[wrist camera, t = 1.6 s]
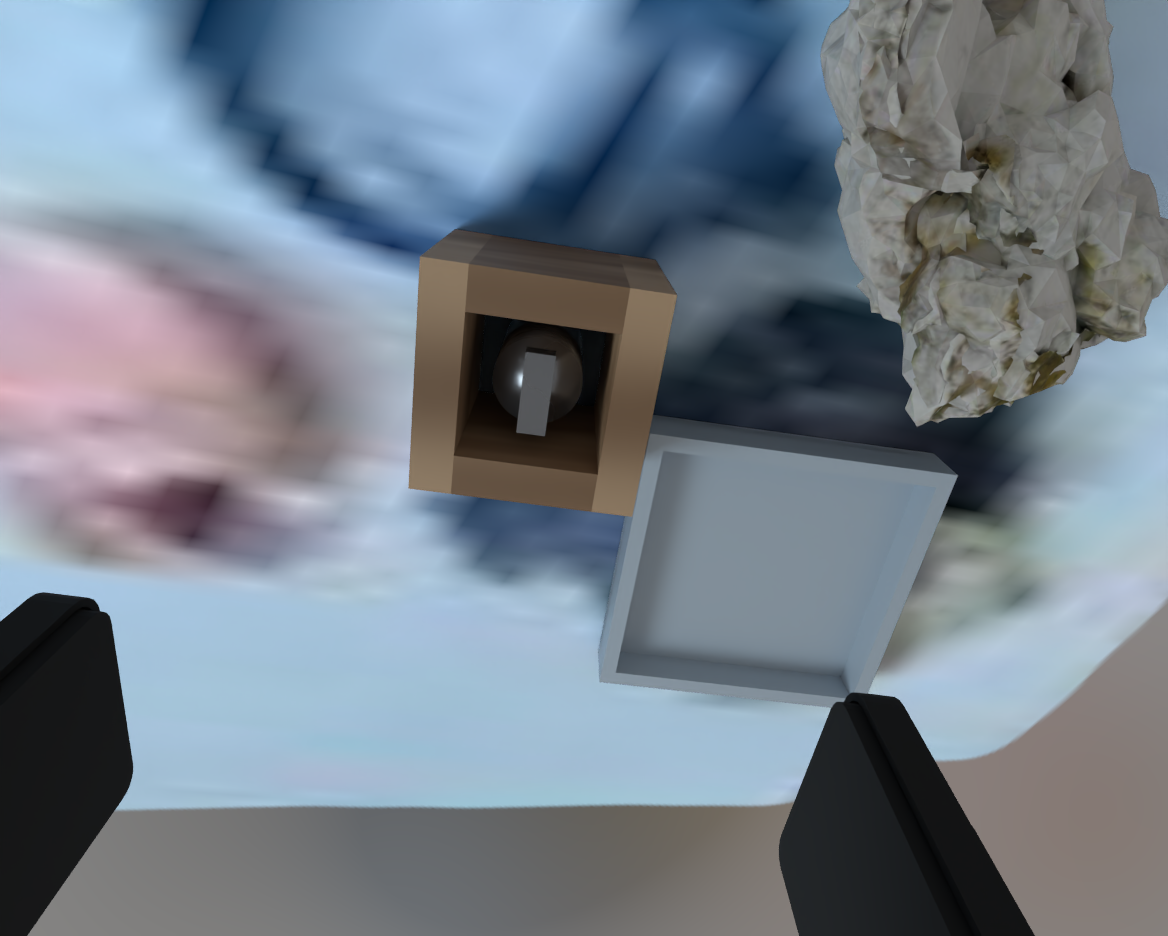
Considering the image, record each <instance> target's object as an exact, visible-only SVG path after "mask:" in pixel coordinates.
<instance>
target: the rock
mask: <svg viewBox="0 0 1168 936" xmlns="http://www.w3.org/2000/svg"><path fill="white" fill-rule="evenodd" d="M1112 29H1113V26H1112V25H1111V24H1110V23H1109V22H1108V21H1107V19H1106V10H1105V4H1104V0H850V3H849V7H848V8H847V9H846V10H845V11H844V12H843V13H842V14H841V15H840V16H839V17H838V18H836V19H835V20H834V21H833V22H832V23H831V24H830V26H829V29H828V31H827V34H826V36H825V39H824V42H823V44H822V48H821V65H822V71H823V76H824V81H825V87H826V90H827V93H828V95H829V98H830V100H831V103H832V105H833V108H834V110H835V113H836V115H837V118H838V120H839V123H840V125H841V126H842V128H843V130H842V132H843V136H844V140H842V143H841V146H840V147H839V148H838V149H837V154H836V159H835V164H834V166H835V169H836V172H837V175H838V178H839V181H840V184H841V188H842V193H841V198H840V202H839V206H838V210H837V212H838V215H839V218H840V221H841V225H842V228H843V231H844V234H845V238H846V241H847V244H848V247H849V251H850V254H851V257H852V259H853V261H854V262H855V264H856V265H857V267H858V268H859V270H860V271H861V273H862V275H863V276H864V278H863V279H862V281H861V282H860V283H859V284H858V285H857V287H858V288H859V289H860V290H861V291H862V292H863V293H864V294H865V295H866V296H867V297H868V298H869V299H870V306H871V313H880V314H881V315H882V317H883V318H884V319H887V320H891V321H894V322H897V323H898V324H900V326H901V328H902V336H903V344H904V351H903V367H902V375H903V376H904V378H905V379H906V381H907V382H908V383H909V385H910V386H911V388H912V392H911V395H910V397H909V400H908V402H907V405H906V407H905V409H906V411H907V412H908V414H909V415H910V417H911V418H912V420H913V421H914V423H915V424H916V426H920V425H922V424H924V423H926V422H928V421H930V420H932V421H935V422H937V423H938V422H941V421H943V420H945V419H947V418H954V417H980V416H981V415H982V414H984V413H988V412H992V410H993V408H994V407H996V406H997V405H1001V404H1004V405H1007V406H1011V405H1012V403H1013V402H1014V400H1017V399H1020V398H1023V397H1026V396H1029V395H1031V394H1034V393H1037V392H1040V391H1042V390H1045V389H1047V388H1049V387H1052V386H1054V385H1057V384H1063V383H1065V381H1066V380H1067V379H1068V378H1069V377H1070V376H1071V375H1072V374H1073V371H1074V369H1075V367H1076V364H1077V362H1078V359H1079V357H1080V349H1085V348H1088V347H1091V346H1094V345H1097V344H1099V343H1101V342H1102V341H1104V340H1106V339H1107V338H1110V339H1112V340H1114V341H1121V342H1127V341H1131V340H1134V339H1137V338H1141V337H1144V336H1146V325H1145V320H1144V319H1145V316H1146V313H1147V311H1148V308H1149V306H1150V303H1151V301H1152V299H1154V298H1156V297H1158V296H1159V294H1160V293H1161V292H1162V290H1163V289H1164V288H1165V286H1166V285H1167V284H1168V219H1165V218H1162V217H1160V212H1159V207H1158V201H1157V195H1156V190H1155V188H1154V185H1153V183H1152V181H1151V179H1150V177H1149V175H1146V174H1144V173H1141V172H1138V171H1135V170H1133V169H1130V166H1129V163H1128V160H1127V158H1126V155H1125V152H1124V149H1123V143H1122V138H1121V132H1120V127H1119V121H1118V117H1117V114H1116V110H1115V107H1114V103H1113V100H1112V97H1111V92H1112V85H1113V78H1114V76H1113V70H1112V65H1111V59H1110V54H1109V48H1108V44H1109V37H1110V34H1111V32H1112Z"/></svg>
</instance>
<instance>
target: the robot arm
mask: <svg viewBox="0 0 1168 936" xmlns="http://www.w3.org/2000/svg"><path fill="white" fill-rule="evenodd" d="M132 774H133V761H132V755H131V748H130V742H129V735H128V729H127V722H126V715H125V709H124V702H123V696H122V689H121V683H120V676H119V669H118V663H117V656H116V650H115V643H114V636H113V630H112V623H111V619H110V616H109V615H108V614H107V613H105V612H100V610H99V607H98V604H97V603H96V602H95V601H94V600H93V599H90V598H85V597H77V596H69V595H61V594H53V593H44V592H43V593H38V594H35V595H33V596H32V597H30V598H28V599H27V600H26V601H25V602H23V603H22V604H21V605H20V606H19V607H17V608H16V609H15V610H14V611H13V612H11V613H10V614H9V615H8V616H7V617H5V618H4V619H3V620H2V621H0V936H27V935H28V934H29V932H30V931H31V929H32V928H33V926H34V925H35V924H36V922H37V921H38V919H39V918H40V916H41V915H42V914H43V912H44V911H45V909H46V908H47V906H48V905H49V904H50V902H51V900H52V899H53V898H54V896H55V895H56V894H57V892H58V891H59V889H60V888H61V886H62V885H63V884H64V882H65V881H66V879H67V878H68V876H69V875H70V873H71V872H72V871H73V869H74V868H75V866H76V865H77V864H78V862H79V861H80V859H81V858H82V856H83V855H84V853H85V852H86V851H87V849H88V848H89V846H90V845H91V843H92V842H93V841H94V839H95V838H96V836H97V835H98V833H99V832H100V830H101V829H102V828H103V826H104V825H105V823H106V822H107V821H108V819H109V818H110V816H111V815H112V813H113V812H114V811H115V809H116V808H117V806H118V805H119V803H120V802H121V801H122V799H123V797H124V796H125V794H126V792H127V790H128V788H129V785H130V782H131V779H132ZM779 860H780V866H781V871H782V874H783V878H784V881H785V885H786V889H787V893H788V896H789V900H790V904H791V907H792V911H793V915H794V918H795V922H796V926H797V930H798V933H799V936H1035V935H1034V934H1033V932H1032V930H1031V928H1030V926H1029V925H1028V923H1027V921H1026V919H1025V918H1024V916H1023V914H1022V912H1021V911H1020V909H1019V907H1018V905H1017V904H1016V902H1015V900H1014V898H1013V897H1012V895H1011V893H1010V891H1009V889H1008V888H1007V886H1006V884H1005V882H1004V881H1003V879H1002V877H1001V875H1000V874H999V872H998V870H997V868H996V867H995V865H994V863H993V861H992V859H991V858H990V856H989V854H988V852H987V851H986V849H985V847H984V845H983V844H982V842H981V840H980V838H979V836H978V835H977V833H976V831H975V830H974V828H973V827H972V825H971V824H970V822H969V820H968V819H967V817H966V815H965V813H964V811H963V810H962V808H961V806H960V804H959V803H958V801H957V799H956V797H955V796H954V794H953V792H952V790H951V788H950V787H949V785H948V783H947V781H946V780H945V778H944V776H943V774H942V773H941V771H940V769H939V767H938V766H937V764H936V762H935V760H934V758H933V757H932V755H931V753H930V751H929V750H928V748H927V746H926V744H925V743H924V741H923V739H922V737H921V735H920V734H919V732H918V730H917V728H916V727H915V725H914V723H913V721H912V720H911V718H910V716H909V714H908V712H907V711H906V709H905V707H904V706H903V704H902V703H901V702H900V700H898V699H897V698H895V697H890V696H882V695H874V694H866V693H858V692H853V693H850V694H849V695H848V696H847V697H846V699H845V700H844V702H836V703H835V704H833V706H832V708H831V710H830V713H829V715H828V718H827V720H826V723H825V725H824V728H823V731H822V733H821V736H820V738H819V741H818V743H817V746H816V748H815V751H814V753H813V756H812V759H811V761H810V764H809V766H808V769H807V771H806V774H805V776H804V779H803V781H802V784H801V786H800V789H799V792H798V794H797V797H796V799H795V802H794V804H793V807H792V809H791V812H790V814H789V817H788V819H787V822H786V825H785V827H784V830H783V832H782V835H781V838H780V844H779Z"/></svg>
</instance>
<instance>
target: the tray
mask: <svg viewBox="0 0 1168 936" xmlns="http://www.w3.org/2000/svg"><path fill="white" fill-rule="evenodd" d="M957 476H958V475H957V474H956V473H955V472H954V471H952V470H951V469H950V468H949V467H948V466H947V465H946V464H945V463H944V462H942V461H941V460H940V459H939V458H938V457H937V456H936V455H935V454H934V453H927V452H920V451H912V450H905V449H898V448H891V447H883V446H876V445H869V444H862V443H854V442H847V441H840V440H833V439H825V438H818V437H811V436H804V435H796V434H789V433H782V432H775V431H767V430H760V429H753V428H746V427H738V426H731V425H724V424H717V423H709V422H702V421H695V420H688V419H680V418H673V417H666V416H659V415H653V417H652V422H651V427H650V432H649V437H648V441H647V446H646V451H645V456H644V461H643V466H642V471H641V476H640V481H639V486H638V491H637V496H636V501H635V505H634V510H633V515H632V517H629V516H625V519H624V524H623V529H622V534H621V539H620V544H619V549H618V554H617V559H616V564H615V569H614V574H613V579H612V584H611V589H610V594H609V600H608V605H607V610H606V615H605V620H604V625H603V630H602V635H601V640H600V645H599V650H598V657H599V682H604V683H613V684H622V685H631V686H640V687H649V688H658V689H667V690H676V691H685V692H694V693H704V694H713V695H722V696H731V697H740V698H749V699H758V700H767V701H776V702H785V703H794V704H803V705H812V706H821V707H830V708H832V706H833V704H835V703H836V702H844V700H845V699H846V697H847V696H848V695H849V694H850V693H853V692H858V693H866V694H868V691H869V689H870V687H871V684H872V682H873V679H874V677H875V675H876V672H877V670H878V667H879V665H880V662H881V660H882V658H883V655H884V653H885V650H886V648H887V646H888V643H889V641H890V638H891V636H892V633H893V631H894V629H895V626H896V624H897V621H898V619H899V617H900V614H901V612H902V609H903V607H904V604H905V602H906V600H907V597H908V595H909V592H910V590H911V588H912V585H913V583H914V580H915V578H916V575H917V573H918V571H919V568H920V566H921V563H922V561H923V559H924V556H925V554H926V551H927V549H928V547H929V544H930V542H931V539H932V537H933V534H934V532H935V530H936V527H937V525H938V522H939V520H940V518H941V515H942V513H943V510H944V508H945V505H946V503H947V501H948V498H949V496H950V493H951V491H952V489H953V486H954V484H955V481H956V479H957Z"/></svg>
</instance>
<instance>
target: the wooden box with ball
mask: <svg viewBox="0 0 1168 936" xmlns="http://www.w3.org/2000/svg"><path fill="white" fill-rule="evenodd" d="M676 299H677V294H676V292H675V291H674V289H673V287H672V286H671V284H670V283H669V281H668V279H667V278H666V276H665V274H664V273H663V271H662V270H661V268H660V266H659V265H658V263H657V261H656V260H653V259H647V258H640V257H633V256H627V255H620V254H614V253H607V252H601V251H594V250H588V249H581V248H575V247H568V246H562V245H555V244H549V243H542V242H536V241H529V240H523V239H516V238H510V237H503V236H497V235H490V234H484V233H477V232H471V231H464V230H457V229H455V230H454V231H452V232H451V233H450V234H448V235H447V236H446V237H445V238H443V239H442V240H441V241H439V242H438V243H437V244H435V245H434V246H433V247H432V248H430V249H429V250H428V251H426V252H425V253H424V254H423V255H421V256H420V267H419V287H418V307H417V328H416V348H415V368H414V389H413V409H412V429H411V449H410V470H409V488H410V489H418V490H426V491H433V492H441V493H449V494H457V495H465V496H473V497H480V498H488V499H496V500H504V501H512V502H520V503H528V504H535V505H543V506H551V507H559V508H567V509H575V510H582V511H590V512H598V513H606V514H614V515H622V516H629V517H632V515H633V510H634V505H635V501H636V496H637V491H638V486H639V481H640V476H641V471H642V466H643V461H644V456H645V451H646V446H647V441H648V437H649V432H650V427H651V422H652V417H653V412H654V407H655V402H656V397H657V392H658V387H659V382H660V377H661V373H662V368H663V363H664V358H665V353H666V348H667V343H668V338H669V333H670V328H671V323H672V318H673V313H674V309H675V304H676ZM486 315H491V316H498V317H505V318H511V319H518V320H525V321H532V322H539V323H546V324H553V325H560V326H566V327H573V328H580V329H587V330H594V331H601V332H606V336H605V342H604V348H603V354H602V360H601V367H600V373H599V379H598V385H597V391H596V397H595V403H594V406H586V405H579V404H575V406H574V407H573V408H572V409H571V410H570V411H569V412H568V413H567V414H566V415H564V416H563V417H561V418H559V419H557V420H555V421H551V422H547V425H546V432H545V436H538V435H531V434H524V433H516V430H517V422H518V418H516V417H514V416H513V415H511V414H510V413H509V412H507V411H506V410H505V409H504V408H503V407H502V405H501V404H500V403H499V401H498V399H497V397H496V395H495V393H492V392H485V391H479V385H480V374H481V363H482V352H483V341H484V330H485V318H486Z"/></svg>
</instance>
